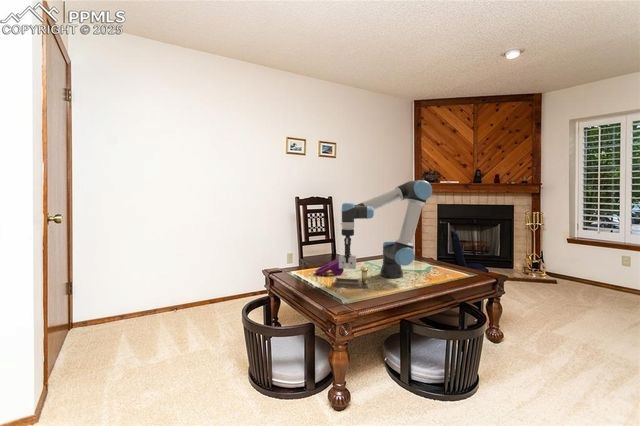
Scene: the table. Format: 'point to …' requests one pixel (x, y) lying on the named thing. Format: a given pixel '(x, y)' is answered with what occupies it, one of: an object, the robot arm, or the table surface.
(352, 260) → the grey block with holes
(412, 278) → the table surface
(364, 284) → the hinge base
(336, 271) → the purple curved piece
